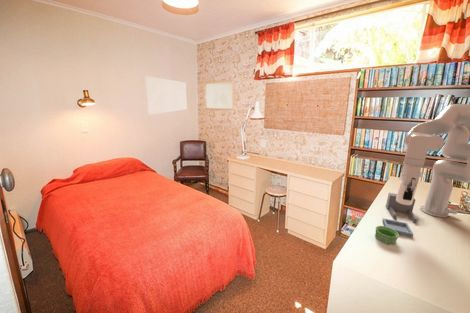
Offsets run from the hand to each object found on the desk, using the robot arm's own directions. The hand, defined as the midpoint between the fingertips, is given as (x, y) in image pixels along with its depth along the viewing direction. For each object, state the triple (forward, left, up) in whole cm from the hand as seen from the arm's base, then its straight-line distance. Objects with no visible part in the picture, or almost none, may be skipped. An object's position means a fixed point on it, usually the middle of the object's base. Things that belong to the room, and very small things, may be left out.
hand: (404, 196), depth 108 cm
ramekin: (+7, +13, -18) cm, 24 cm away
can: (0, 0, -3) cm, 3 cm away
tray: (0, 0, -18) cm, 18 cm away
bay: (-6, -20, -18) cm, 27 cm away
